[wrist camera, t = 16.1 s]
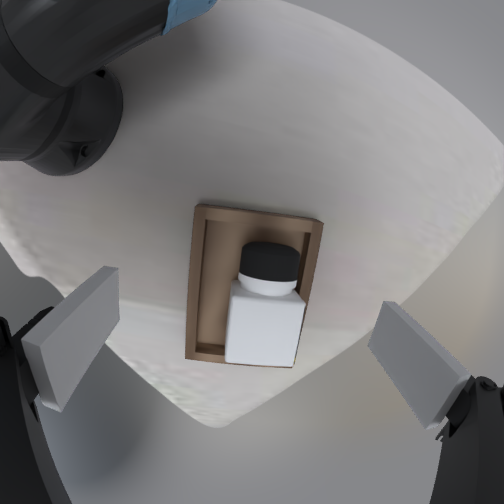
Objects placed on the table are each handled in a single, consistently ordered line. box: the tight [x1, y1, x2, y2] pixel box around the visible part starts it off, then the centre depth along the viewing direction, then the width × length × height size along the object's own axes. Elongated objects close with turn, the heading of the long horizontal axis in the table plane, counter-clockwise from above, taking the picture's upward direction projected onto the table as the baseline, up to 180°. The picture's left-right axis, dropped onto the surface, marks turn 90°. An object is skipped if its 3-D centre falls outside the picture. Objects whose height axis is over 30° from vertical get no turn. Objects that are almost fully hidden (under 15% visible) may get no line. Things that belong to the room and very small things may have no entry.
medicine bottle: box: [225, 242, 306, 367], centre depth 30 cm, size 7×7×12 cm
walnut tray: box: [185, 204, 324, 368], centre depth 32 cm, size 13×18×3 cm
